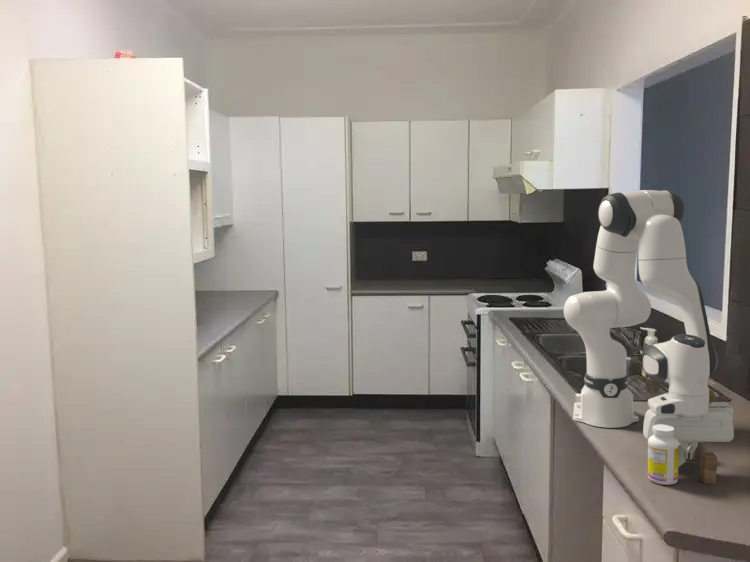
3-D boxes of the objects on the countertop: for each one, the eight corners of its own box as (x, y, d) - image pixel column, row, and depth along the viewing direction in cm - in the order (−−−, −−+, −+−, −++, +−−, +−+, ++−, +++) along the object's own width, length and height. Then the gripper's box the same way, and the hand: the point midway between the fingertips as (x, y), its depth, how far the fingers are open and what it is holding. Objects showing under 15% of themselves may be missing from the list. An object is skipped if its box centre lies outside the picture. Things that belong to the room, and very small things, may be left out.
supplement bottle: (669, 473, 160) (671, 422, 158) (683, 485, 153) (684, 431, 152) (642, 474, 160) (643, 423, 158) (654, 486, 153) (656, 433, 152)
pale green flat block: (681, 455, 168) (681, 434, 167) (688, 457, 166) (689, 436, 165) (666, 466, 161) (667, 445, 161) (674, 468, 160) (675, 447, 159)
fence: (665, 438, 182) (666, 415, 181) (675, 438, 182) (675, 415, 181) (704, 483, 154) (705, 456, 153) (716, 483, 154) (716, 456, 153)
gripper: (727, 398, 162) (726, 453, 163) (641, 399, 164) (640, 453, 165) (739, 406, 156) (738, 463, 157) (649, 407, 157) (649, 463, 159)
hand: (687, 458), depth 161 cm, fingers closed
